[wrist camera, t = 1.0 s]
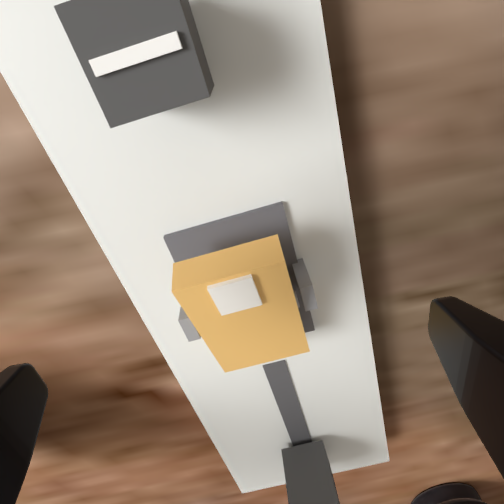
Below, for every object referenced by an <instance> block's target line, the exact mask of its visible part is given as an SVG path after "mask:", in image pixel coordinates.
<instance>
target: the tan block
mask: <svg viewBox="0 0 504 504" xmlns="http://www.w3.org/2000/svg"><path fill="white" fill-rule="evenodd" d="M172 293H173V295H174V296H175V298H176V299H177V301H178V302H179V304H180V305H181V307H182V308H183V310H184V311H185V313H186V315H187V316H188V318H189V319H190V321H191V322H192V324H193V325H194V327H195V328H196V330H197V331H198V333H199V334H200V336H201V337H202V339H203V340H204V342H205V343H206V345H207V346H208V348H209V349H210V351H211V352H212V354H213V355H214V357H215V358H216V360H217V361H218V363H219V364H220V366H221V367H222V369H223V370H224V372H225V373H226V372H230V371H234V370H238V369H242V368H246V367H250V366H254V365H258V364H262V363H266V362H270V361H274V360H278V359H282V358H286V357H290V356H294V355H298V354H302V353H306V352H310V350H309V346H308V342H307V339H306V335H305V332H304V328H303V324H302V321H301V317H300V313H299V310H298V308H299V307H300V305H299V302H298V298H297V294H296V291H293V288H292V284H291V281H290V277H289V274H288V270H287V266H286V263H285V259H284V255H283V252H282V248H281V245H280V241H279V237H278V234H276V235H273V236H269V237H266V238H262V239H258V240H255V241H251V242H248V243H244V244H240V245H237V246H233V247H230V248H226V249H223V250H219V251H215V252H212V253H208V254H205V255H201V256H198V257H194V258H190V259H187V260H183V261H180V262H176V263H173V273H172Z"/></svg>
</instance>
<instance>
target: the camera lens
mask: <svg viewBox="0 0 504 504" xmlns="http://www.w3.org/2000/svg"><path fill="white" fill-rule="evenodd" d="M411 504H487V503H485V502H483V501H482V500H481V498H480V496H479V495H478V493H477V492H476V490H475V489H474V488H473V487H471V486H470V485H467V484H462V483H451V484H444V485H440V486H436V487H433V488H431V489H428V490H426V491H425V492H423V493H421V494H420V495H418V496H417V497H416V498H415V499H414V500H413V501H412V503H411Z"/></svg>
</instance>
